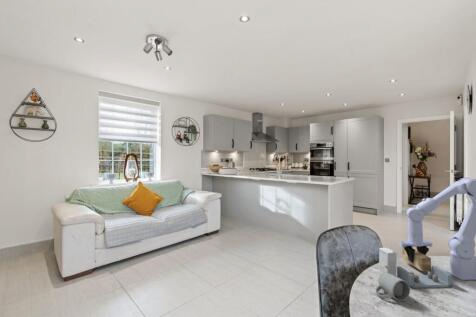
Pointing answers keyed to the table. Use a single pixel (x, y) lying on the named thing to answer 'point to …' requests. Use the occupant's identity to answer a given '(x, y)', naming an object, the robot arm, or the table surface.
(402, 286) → the ceramic mug
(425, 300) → the table surface
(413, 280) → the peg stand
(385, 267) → the skincare box
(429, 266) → the oak plank
